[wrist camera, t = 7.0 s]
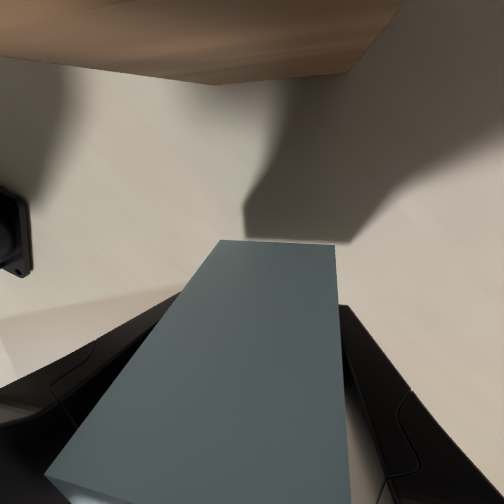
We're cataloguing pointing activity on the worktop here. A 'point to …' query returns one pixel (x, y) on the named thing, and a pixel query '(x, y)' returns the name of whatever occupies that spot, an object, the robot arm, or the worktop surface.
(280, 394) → the tile
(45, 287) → the worktop surface
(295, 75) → the tile
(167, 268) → the worktop surface
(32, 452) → the robot arm
